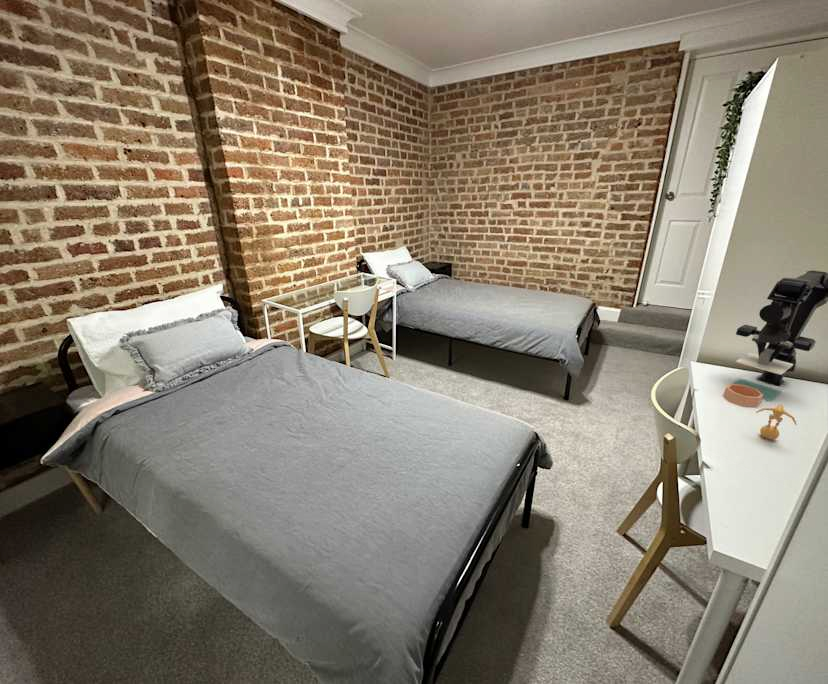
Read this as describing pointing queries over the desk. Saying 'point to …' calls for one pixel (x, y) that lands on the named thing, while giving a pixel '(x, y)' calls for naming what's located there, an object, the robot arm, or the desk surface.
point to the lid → (765, 362)
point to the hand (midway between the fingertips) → (765, 360)
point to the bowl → (743, 395)
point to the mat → (760, 389)
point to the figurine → (772, 431)
